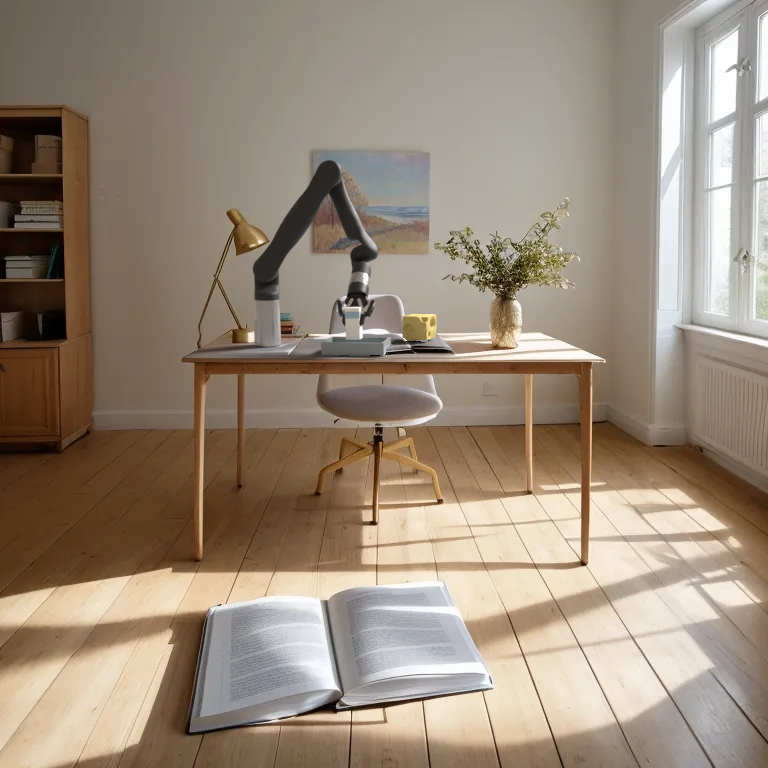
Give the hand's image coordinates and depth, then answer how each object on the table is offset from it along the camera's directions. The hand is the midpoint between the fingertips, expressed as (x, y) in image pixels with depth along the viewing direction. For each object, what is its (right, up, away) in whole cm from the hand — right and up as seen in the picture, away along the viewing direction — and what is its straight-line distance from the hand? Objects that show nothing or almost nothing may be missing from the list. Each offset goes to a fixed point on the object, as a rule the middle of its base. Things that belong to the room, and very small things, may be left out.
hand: (352, 324), depth 287 cm
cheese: (+25, -4, +31) cm, 40 cm away
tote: (+1, -10, +4) cm, 10 cm away
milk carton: (0, -5, +3) cm, 6 cm away
